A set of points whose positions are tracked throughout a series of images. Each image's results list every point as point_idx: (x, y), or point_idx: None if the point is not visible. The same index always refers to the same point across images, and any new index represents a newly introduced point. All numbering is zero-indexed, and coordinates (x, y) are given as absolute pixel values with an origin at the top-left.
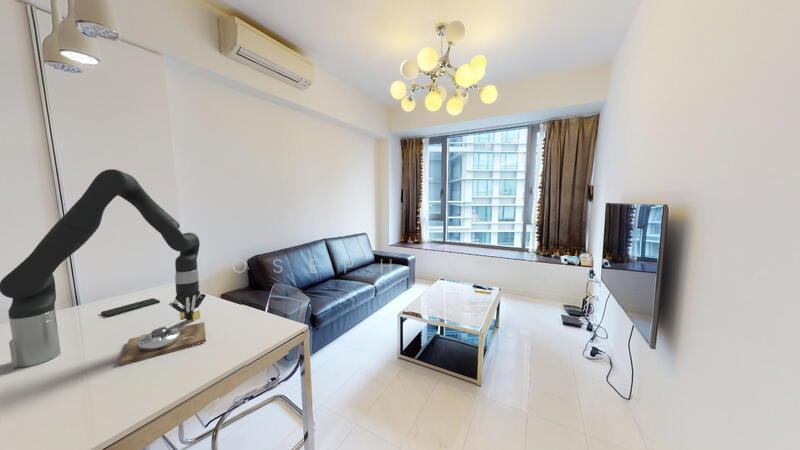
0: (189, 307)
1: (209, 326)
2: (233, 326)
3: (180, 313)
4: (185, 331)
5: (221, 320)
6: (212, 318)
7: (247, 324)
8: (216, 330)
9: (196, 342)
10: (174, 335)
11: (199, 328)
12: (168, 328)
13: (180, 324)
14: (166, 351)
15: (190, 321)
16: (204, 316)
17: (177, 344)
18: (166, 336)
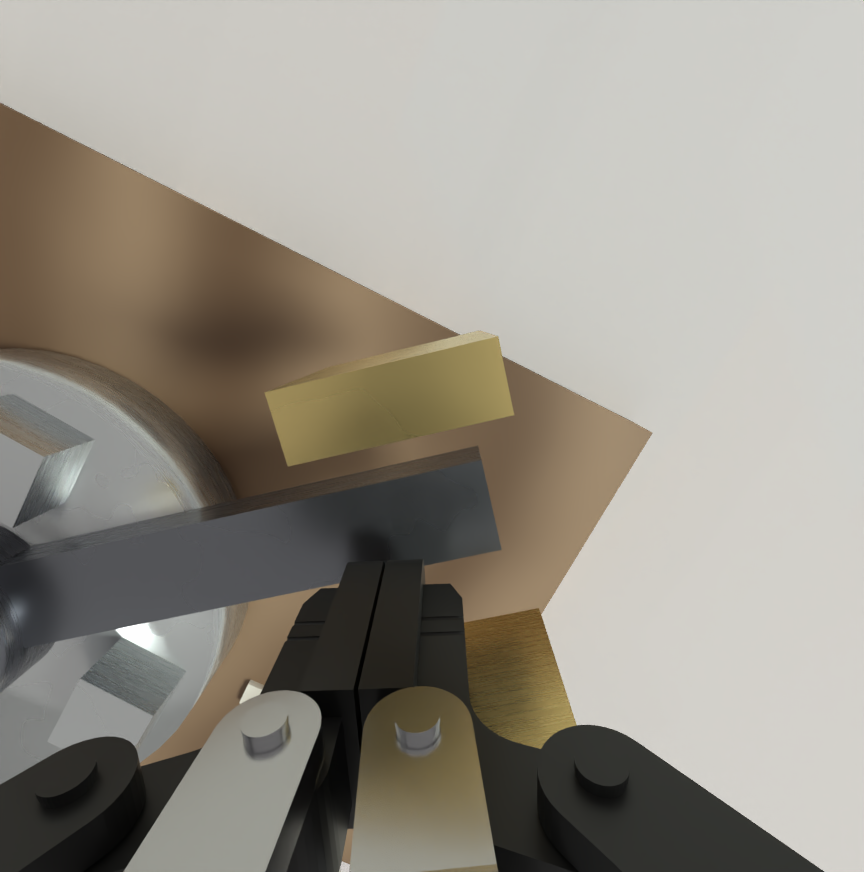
0: (402, 809)
1: (628, 527)
2: (742, 773)
3: (287, 411)
4: None
5: (819, 495)
6: (828, 301)
7: (837, 859)
8: (594, 698)
9: None
10: None
11: (488, 588)
12: (64, 572)
13: (241, 592)
14: None
15: (419, 556)
16: (845, 81)
17: (165, 747)
18: (33, 689)
